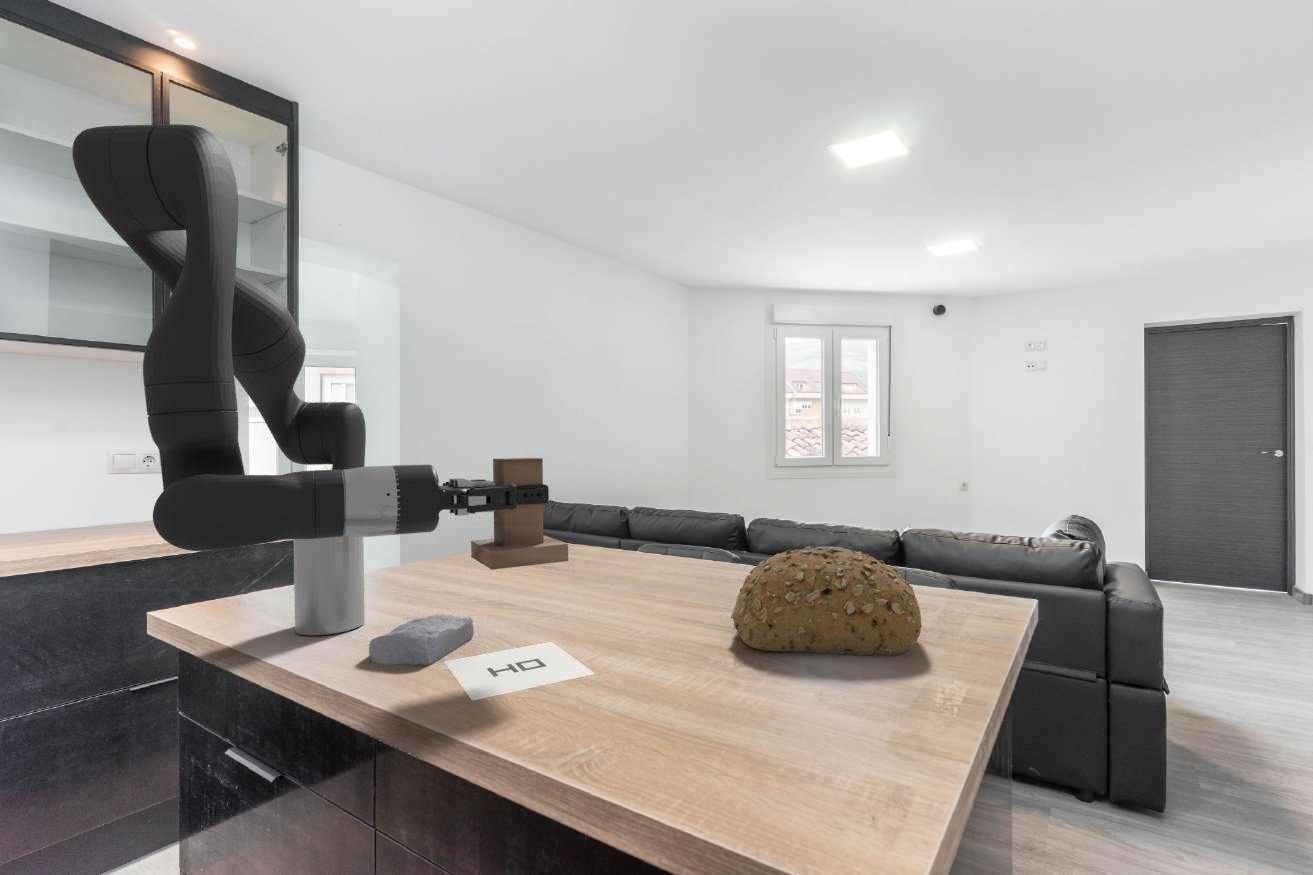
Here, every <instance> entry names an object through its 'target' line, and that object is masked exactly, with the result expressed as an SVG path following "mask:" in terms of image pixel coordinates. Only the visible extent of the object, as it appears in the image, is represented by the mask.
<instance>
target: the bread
mask: <svg viewBox="0 0 1313 875" xmlns="http://www.w3.org/2000/svg"><path fill="white" fill-rule="evenodd" d="M898 572H899V570H898V569H896V568H895V567H894V566H890V565H887V564H886V563H885V562H884V560H882V559H879V560H877V559H876V558H874V557H873V556H871V555H870V554H868V553H867V554H865V553H864V552H862V551H856V550H851V549H848V548H844V547H839V546H831V545H829V546H828V545H826V546H805V547H804V548H802V549H798V548H796V549H794V550H791V548H788V549H787V550H786V551H784V552H781V553H776V554H774V555H773V556H770V557H769V558H768V559H766V560H764V559H762V560H761V561H760V562H759V563H758V564H757V565H756V566H755V567H754V568H752V569H751V570H750V571H749V574H748V575H747V576H746V577H745V579H744V582H743V585H742V586H741V588H740V589H739V590H740V591H739V592H738V595H737V598H736V602H735V605H734V608H733V610H732V613H731V616H730V619H731V620H732V619H733V622H734V623H733V626H734V629H735V630H736V631H737V633H738V635H739V637H740V638H741V640H742V641H743V642H744V643H745V644H746V645H747V646H749V647H751V648H753V649H757V650H760V651H766V652H785V653H787V652H789V653H790V652H791V653H793V652H794V653H795V652H796V653H828V654H834V653H839V654H843V655H852V656H857V655H858V656H861V655H868V656H869V655H870V656H891V655H892V656H893V655H897V654H901V653H903V652H905V651H908V650H909V649H911V648H912V647H913V646H914V645H915V644H916V642H917V641H918V639H919V637H920V634H921V628H923V625H922V615H921V614H922V613H921V609H920V606H919V602H918V599H917V597H916V594H915V591H914V587H913V586H912V585H910V583H909V582H907V580H906V577H905V576H902V575H901V574H899V573H898Z"/></svg>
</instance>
